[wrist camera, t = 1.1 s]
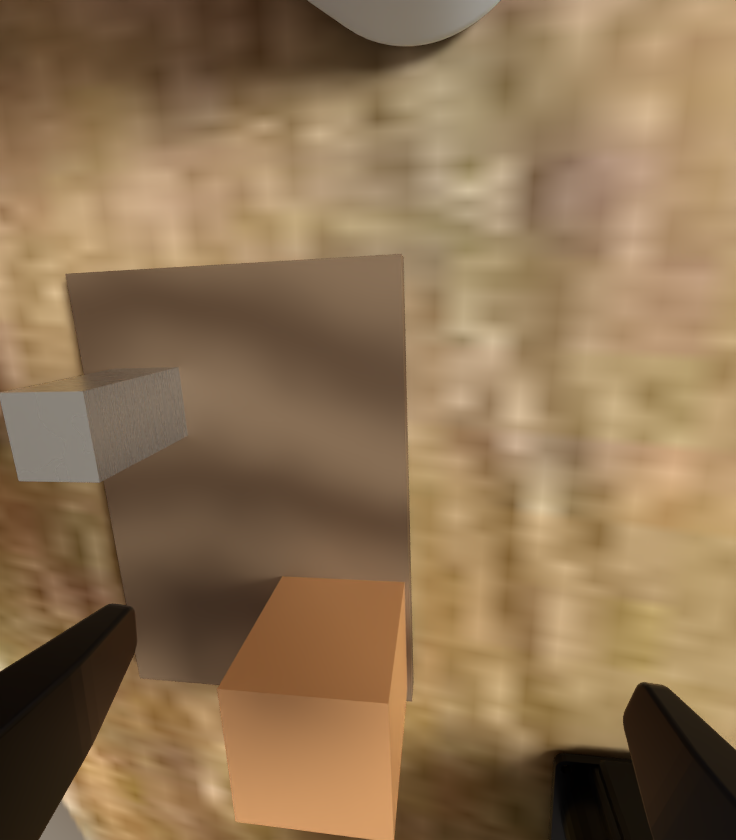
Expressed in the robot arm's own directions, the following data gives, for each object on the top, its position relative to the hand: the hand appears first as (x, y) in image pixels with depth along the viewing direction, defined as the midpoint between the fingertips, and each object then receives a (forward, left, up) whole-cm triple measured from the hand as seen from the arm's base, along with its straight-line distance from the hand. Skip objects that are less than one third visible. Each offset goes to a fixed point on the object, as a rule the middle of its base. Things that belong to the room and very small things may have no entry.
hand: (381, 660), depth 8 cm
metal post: (+2, +11, -12) cm, 16 cm away
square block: (-9, +3, -12) cm, 15 cm away
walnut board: (-2, +7, -13) cm, 15 cm away
